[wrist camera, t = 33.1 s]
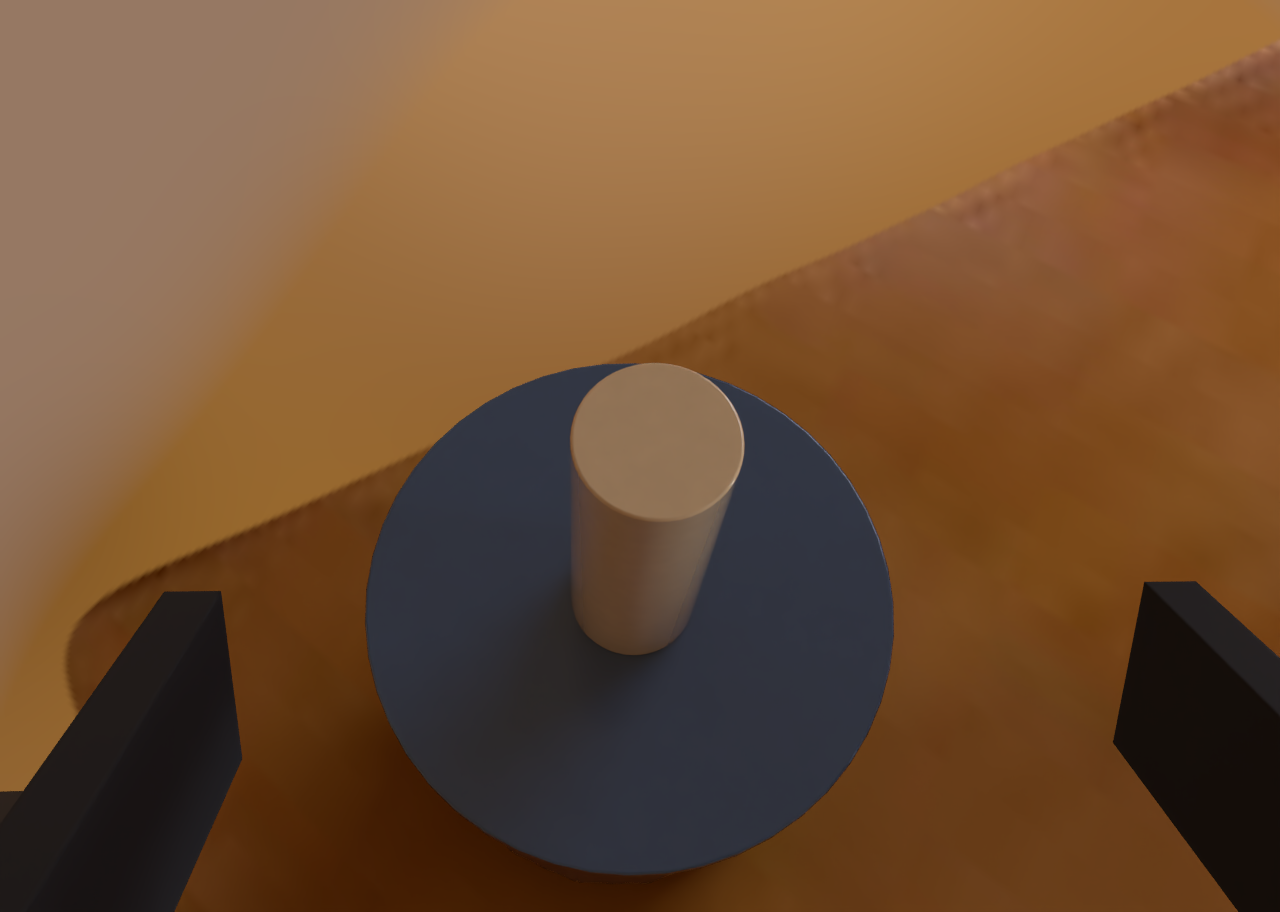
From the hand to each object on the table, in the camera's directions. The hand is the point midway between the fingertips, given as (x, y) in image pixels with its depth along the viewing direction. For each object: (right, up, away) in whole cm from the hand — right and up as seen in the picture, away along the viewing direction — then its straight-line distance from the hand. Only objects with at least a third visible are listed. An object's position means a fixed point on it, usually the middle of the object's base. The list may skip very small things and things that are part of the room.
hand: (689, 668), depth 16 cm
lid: (-1, -1, +12) cm, 12 cm away
